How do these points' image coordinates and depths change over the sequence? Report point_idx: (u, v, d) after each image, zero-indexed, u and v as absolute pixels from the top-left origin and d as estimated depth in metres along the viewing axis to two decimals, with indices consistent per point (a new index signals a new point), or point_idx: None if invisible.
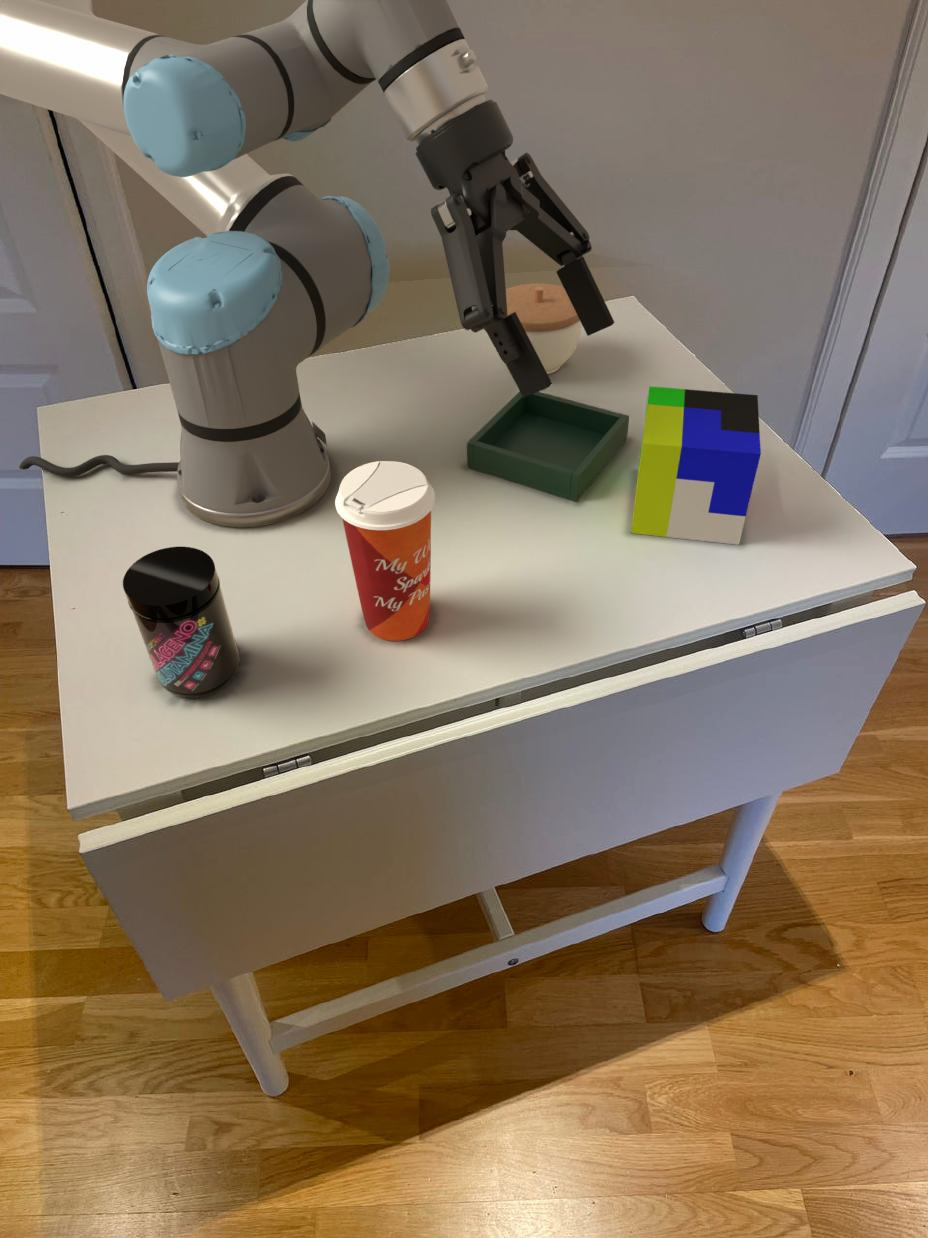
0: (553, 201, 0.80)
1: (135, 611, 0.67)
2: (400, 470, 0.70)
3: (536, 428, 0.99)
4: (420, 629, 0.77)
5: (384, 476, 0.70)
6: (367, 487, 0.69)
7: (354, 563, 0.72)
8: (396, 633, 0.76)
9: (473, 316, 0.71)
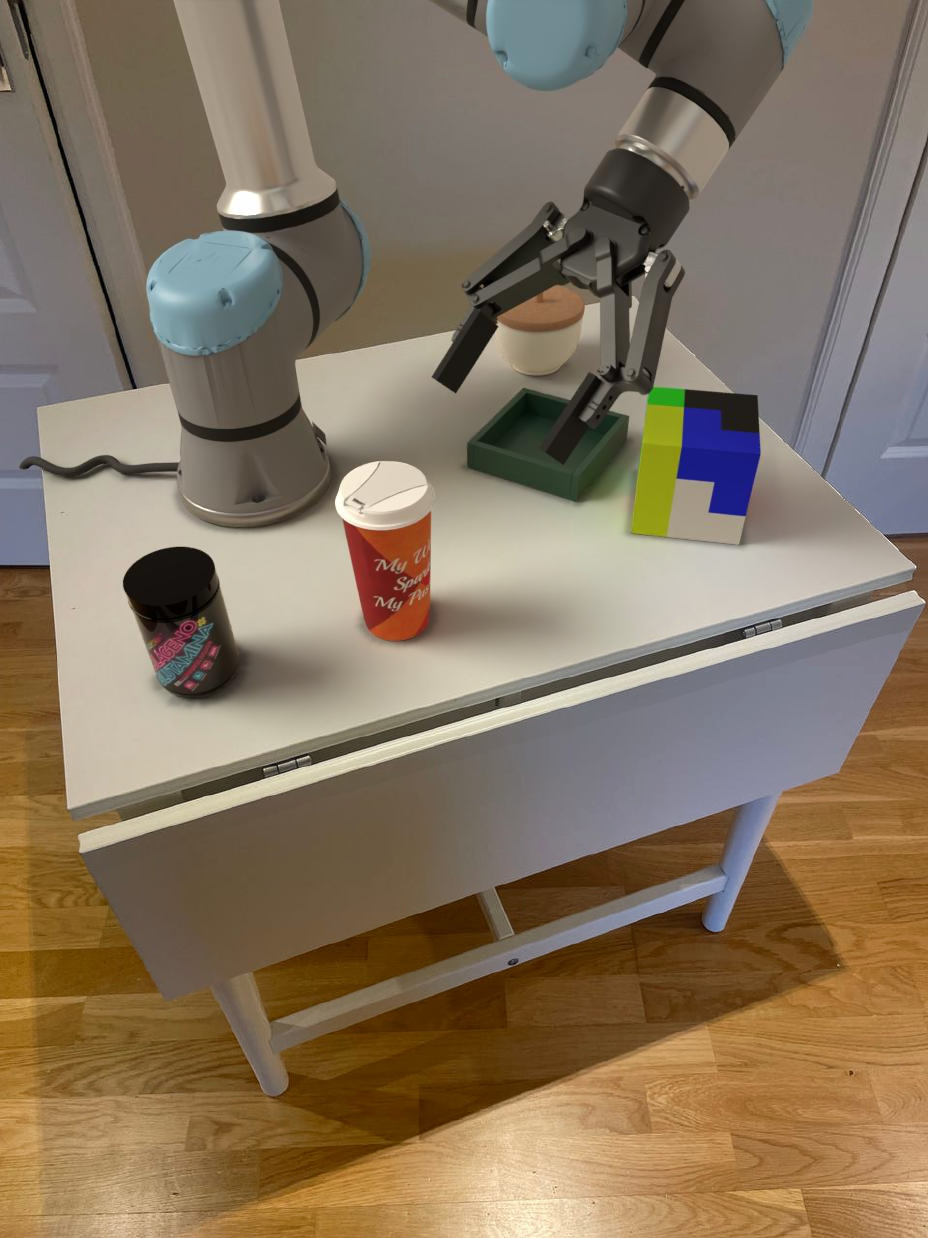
0: None
1: (135, 611, 0.67)
2: (400, 470, 0.70)
3: (536, 428, 0.99)
4: (420, 629, 0.77)
5: (384, 476, 0.70)
6: (367, 487, 0.69)
7: (354, 563, 0.72)
8: (396, 633, 0.76)
9: (646, 381, 0.64)
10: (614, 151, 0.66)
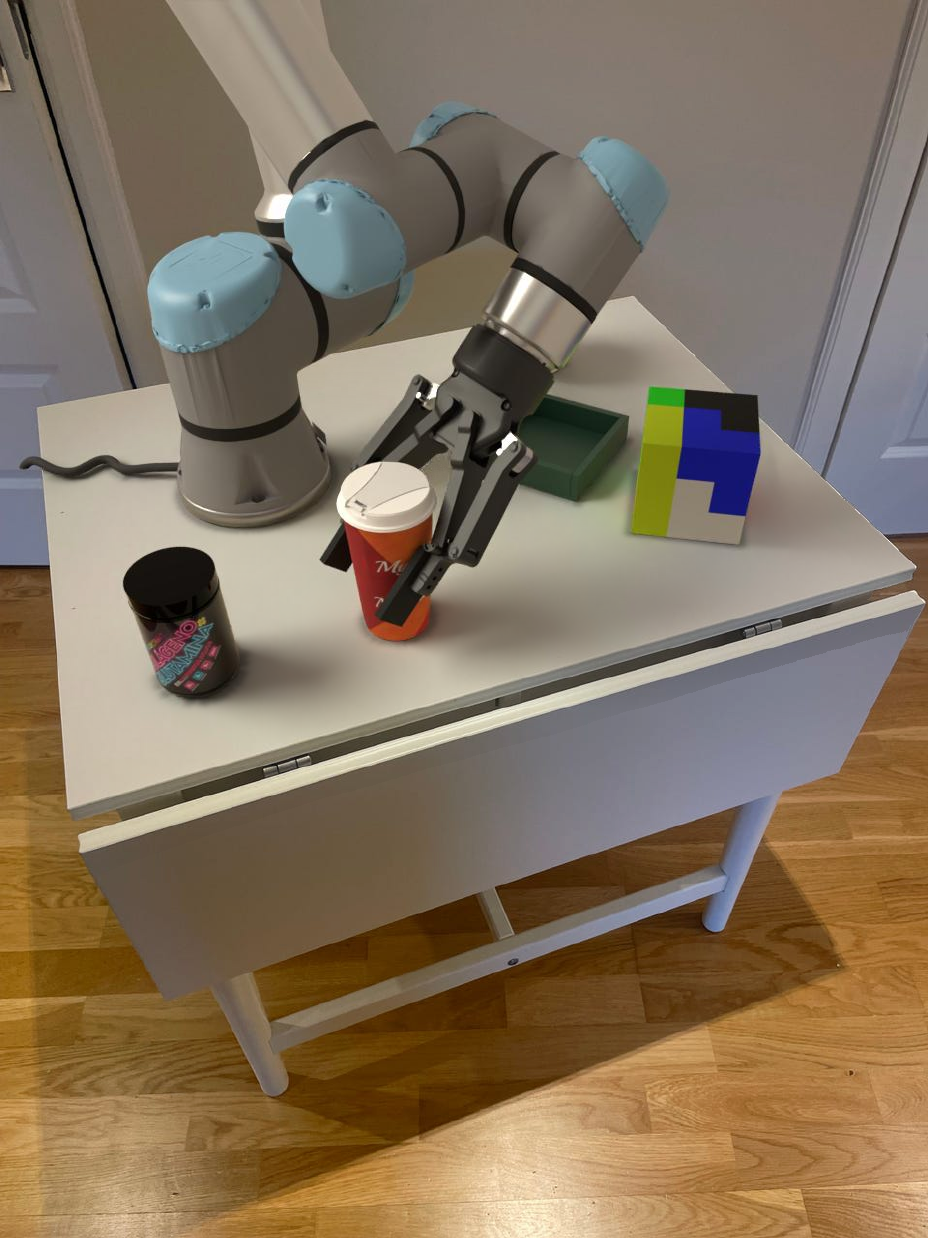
0: None
1: (135, 611, 0.67)
2: (402, 471, 0.70)
3: (536, 428, 0.99)
4: (420, 629, 0.77)
5: (385, 477, 0.70)
6: (369, 489, 0.68)
7: (355, 564, 0.72)
8: (396, 633, 0.76)
9: (470, 559, 0.68)
10: (477, 328, 0.67)
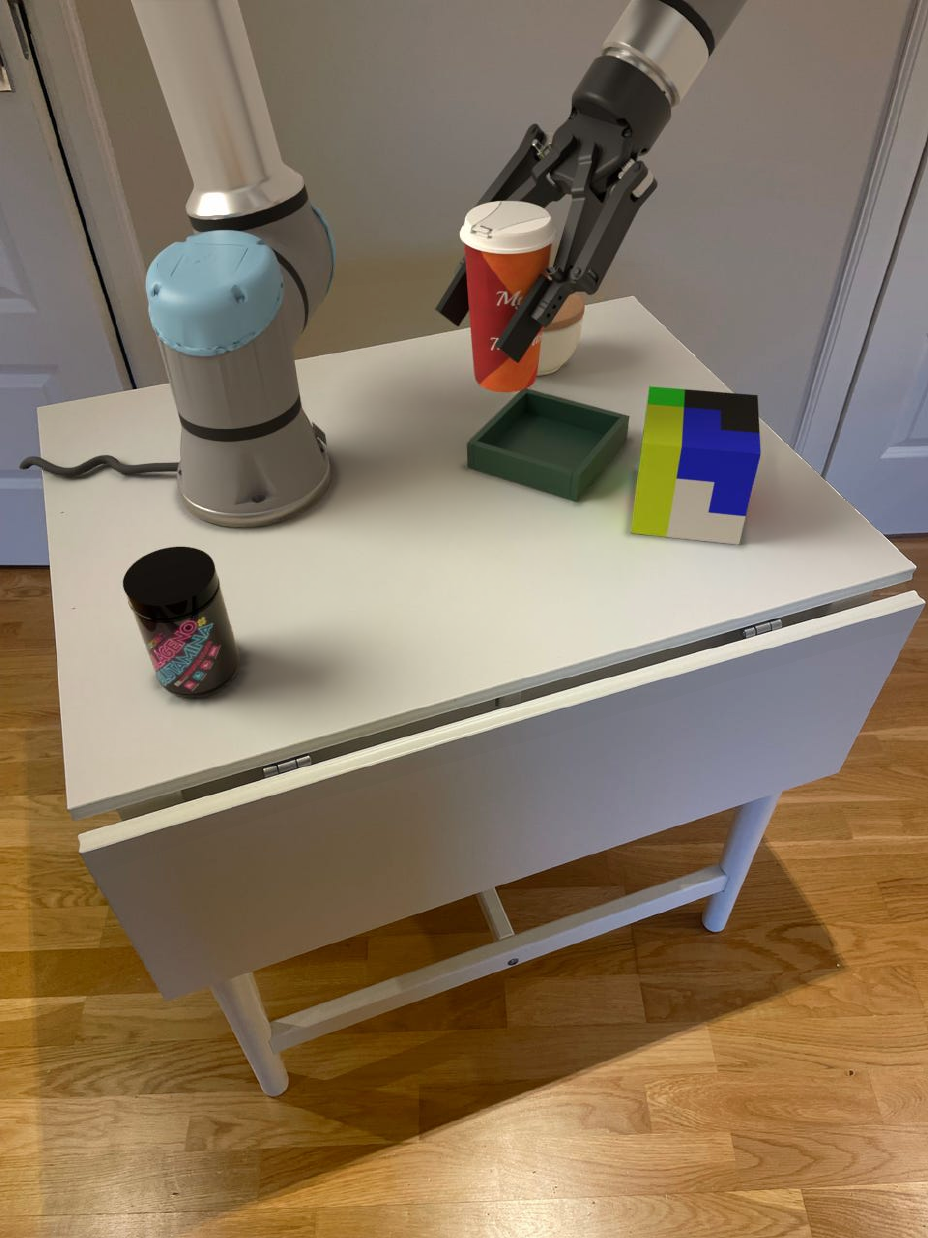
0: None
1: (135, 611, 0.67)
2: (522, 206, 0.73)
3: (536, 428, 0.99)
4: (529, 382, 0.79)
5: (507, 211, 0.72)
6: (492, 218, 0.71)
7: (474, 302, 0.74)
8: (508, 382, 0.78)
9: (591, 283, 0.70)
10: (599, 58, 0.70)
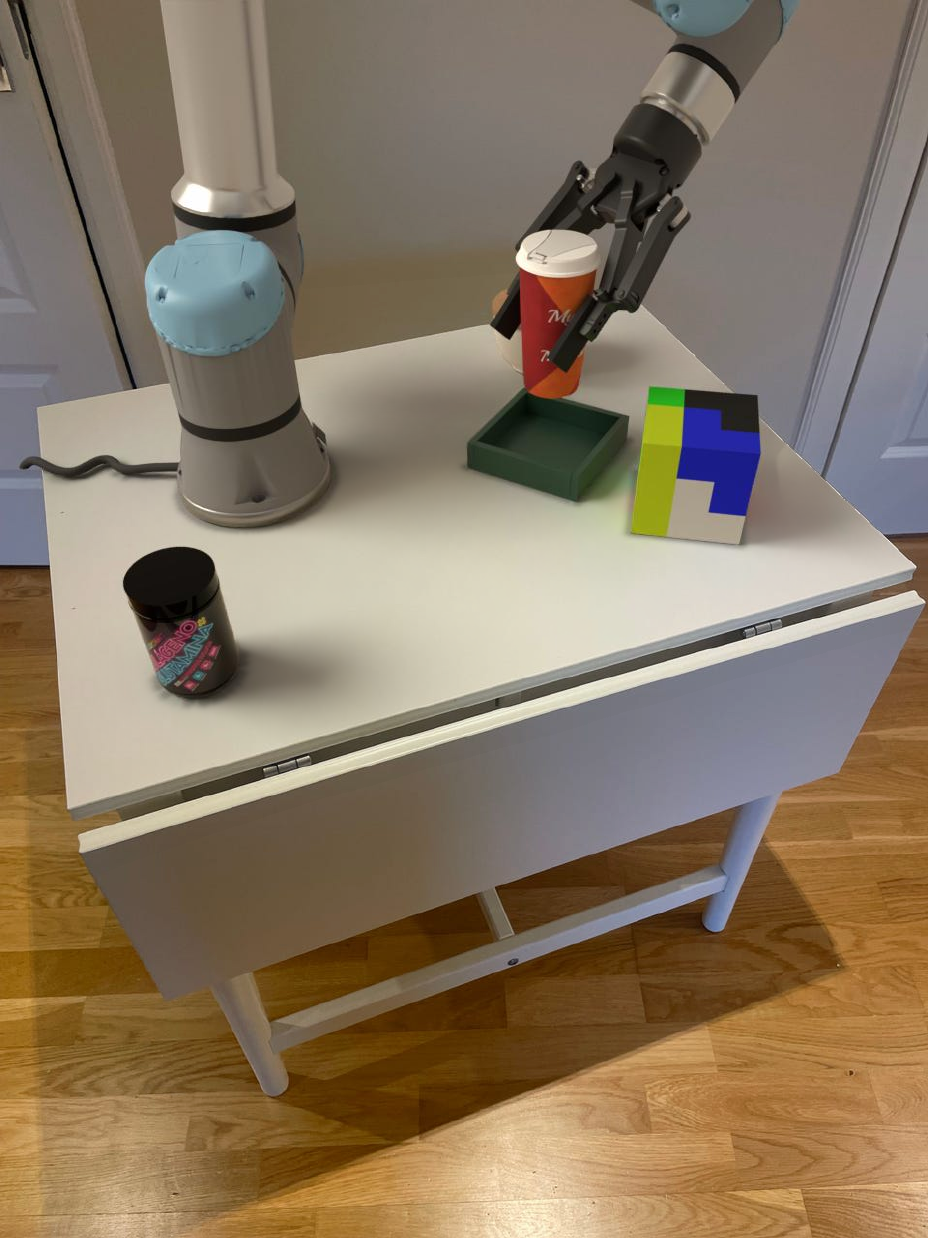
0: None
1: (135, 611, 0.67)
2: (570, 235, 0.82)
3: (536, 428, 0.99)
4: (573, 389, 0.89)
5: (557, 239, 0.82)
6: (545, 245, 0.81)
7: (527, 319, 0.84)
8: (555, 389, 0.88)
9: (633, 302, 0.80)
10: (639, 105, 0.79)
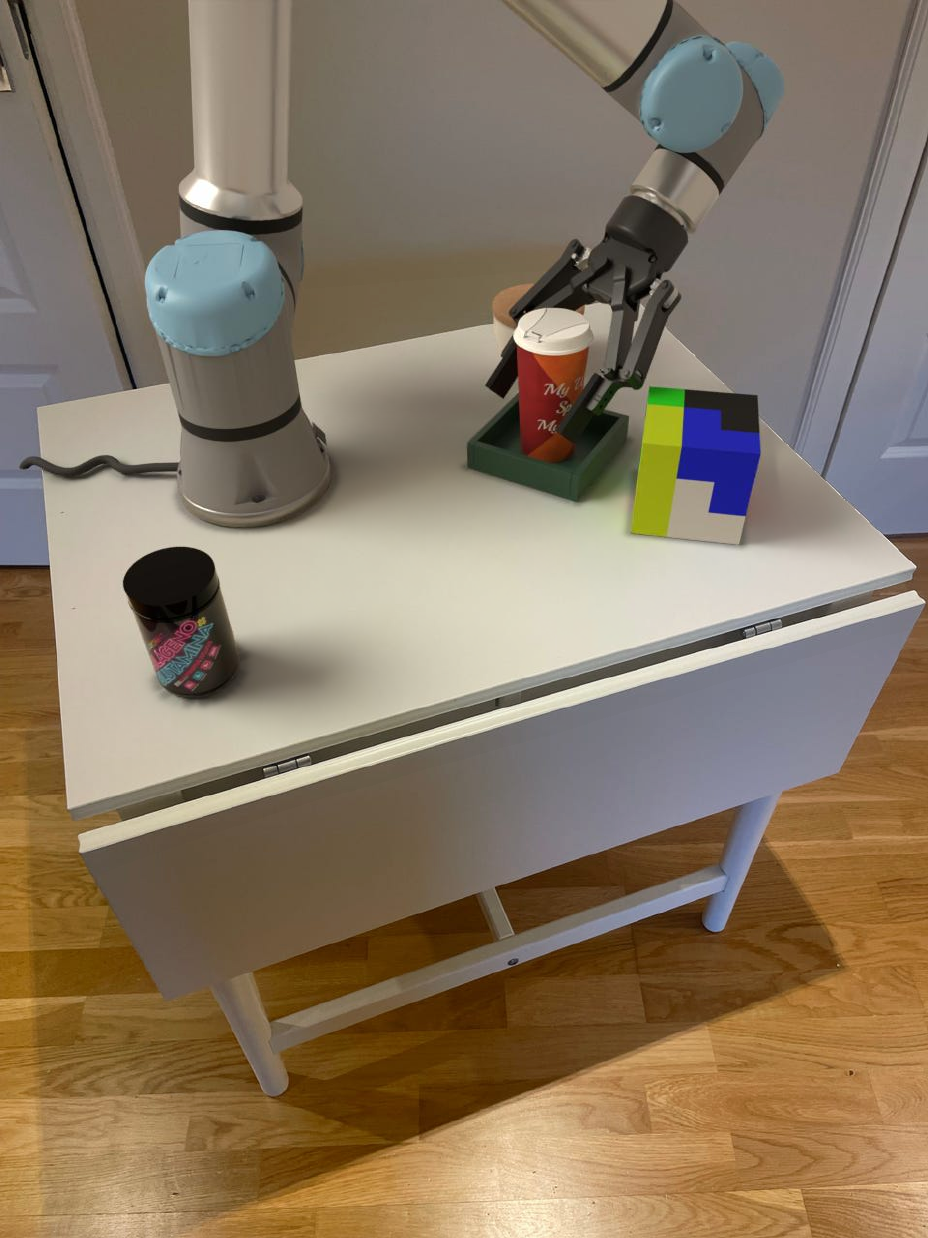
0: None
1: (135, 611, 0.67)
2: (564, 313, 0.88)
3: None
4: (569, 454, 0.94)
5: (552, 317, 0.87)
6: (541, 324, 0.86)
7: (524, 391, 0.89)
8: (551, 454, 0.93)
9: (638, 380, 0.84)
10: (630, 197, 0.85)
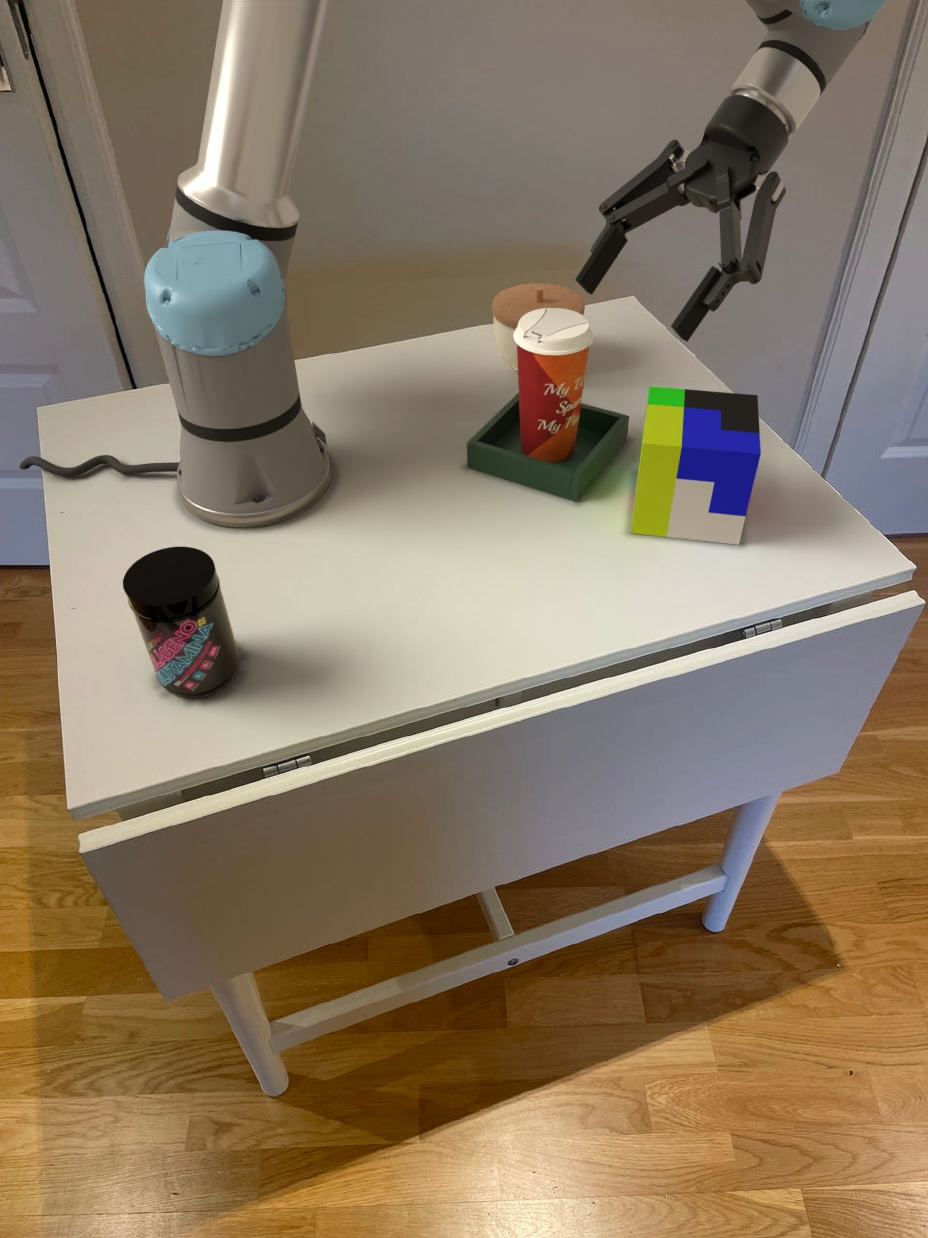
0: None
1: (135, 611, 0.67)
2: (564, 313, 0.88)
3: None
4: (569, 454, 0.94)
5: (552, 317, 0.87)
6: (541, 324, 0.86)
7: (524, 391, 0.89)
8: (551, 454, 0.93)
9: (757, 272, 0.84)
10: (732, 97, 0.86)
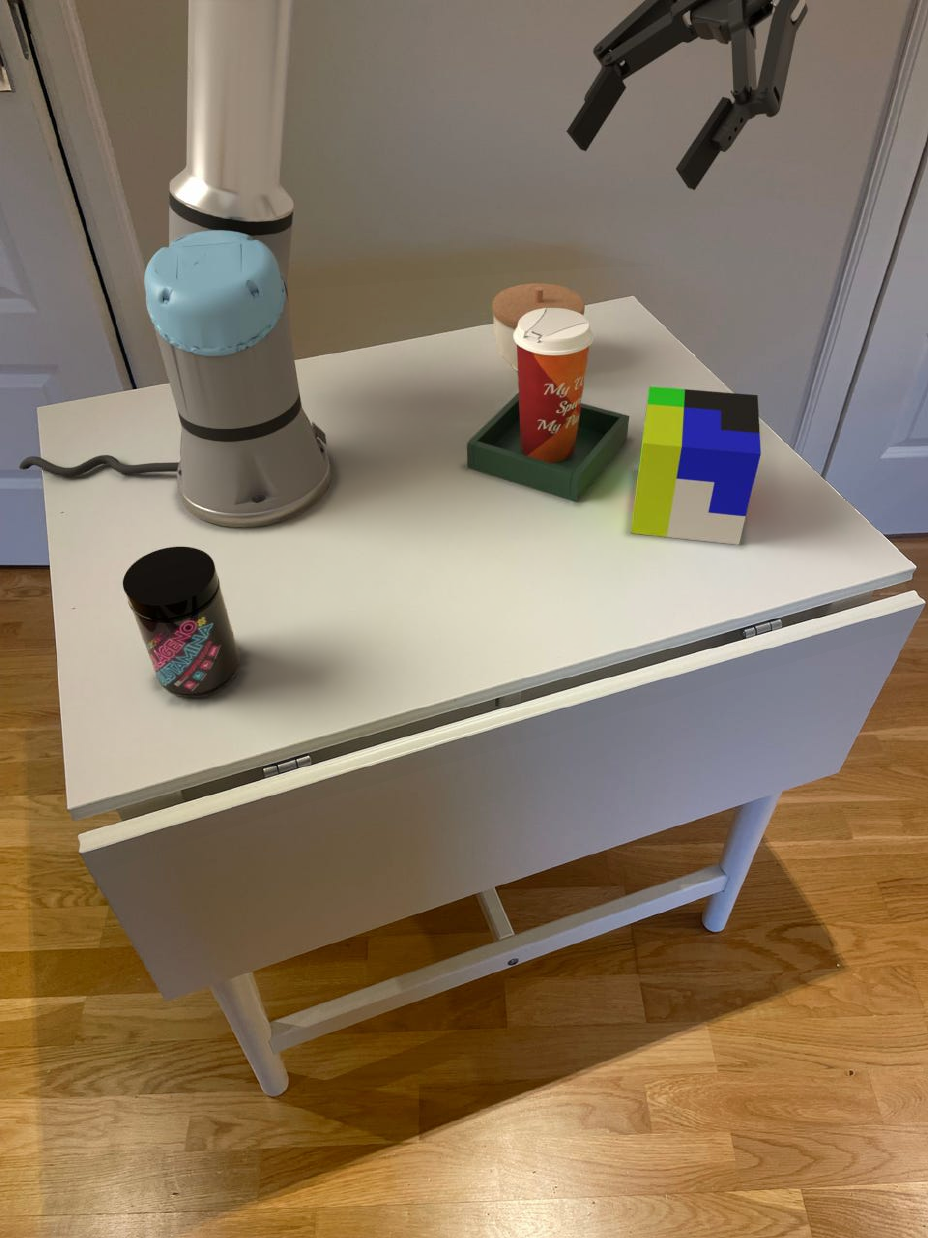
0: None
1: (135, 611, 0.67)
2: (564, 313, 0.88)
3: None
4: (569, 454, 0.94)
5: (552, 317, 0.87)
6: (541, 324, 0.86)
7: (524, 391, 0.89)
8: (551, 454, 0.93)
9: (775, 100, 0.73)
10: None
